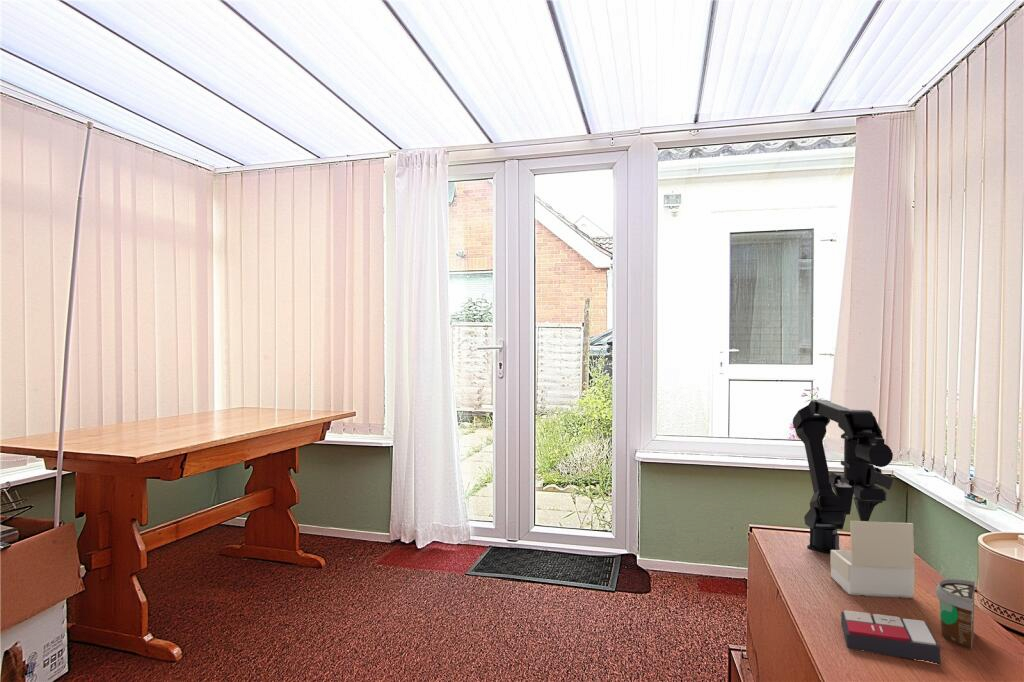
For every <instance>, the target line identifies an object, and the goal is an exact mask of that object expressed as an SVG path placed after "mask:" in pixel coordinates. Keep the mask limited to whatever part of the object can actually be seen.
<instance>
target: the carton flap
mask: <svg viewBox="0 0 1024 682" xmlns="http://www.w3.org/2000/svg"><path fill="white" fill-rule="evenodd" d="M849 522H850V525H849V526H850V527H849V528H850V530H849V531H850V551H851V565H854V566H875V567H896V568H914V567H915V543H914V542H915V541H914V540H915V539H914V538H915V537H914V536H915V535H914V523H911V522H887V521H870V520H869V521H860V520H850V521H849Z"/></svg>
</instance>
